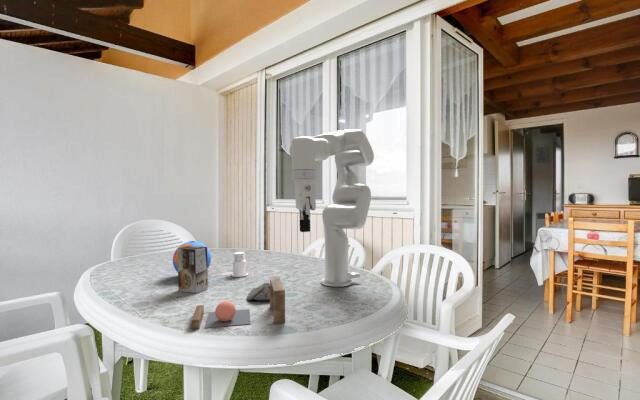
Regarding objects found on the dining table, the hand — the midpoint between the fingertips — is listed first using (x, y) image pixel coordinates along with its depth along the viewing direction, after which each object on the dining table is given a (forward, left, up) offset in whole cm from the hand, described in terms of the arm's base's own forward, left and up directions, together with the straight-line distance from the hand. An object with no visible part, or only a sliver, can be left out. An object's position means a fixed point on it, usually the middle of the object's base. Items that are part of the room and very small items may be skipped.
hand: (305, 231), depth 113 cm
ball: (+25, +10, -21) cm, 34 cm away
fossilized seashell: (+13, -9, -24) cm, 29 cm away
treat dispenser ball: (+41, -45, -24) cm, 66 cm away
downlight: (+21, -43, -24) cm, 54 cm away
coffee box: (+38, -24, -24) cm, 51 cm away
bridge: (+10, +9, -24) cm, 27 cm away
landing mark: (+24, +9, -24) cm, 35 cm away
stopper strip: (+33, +9, -24) cm, 41 cm away
